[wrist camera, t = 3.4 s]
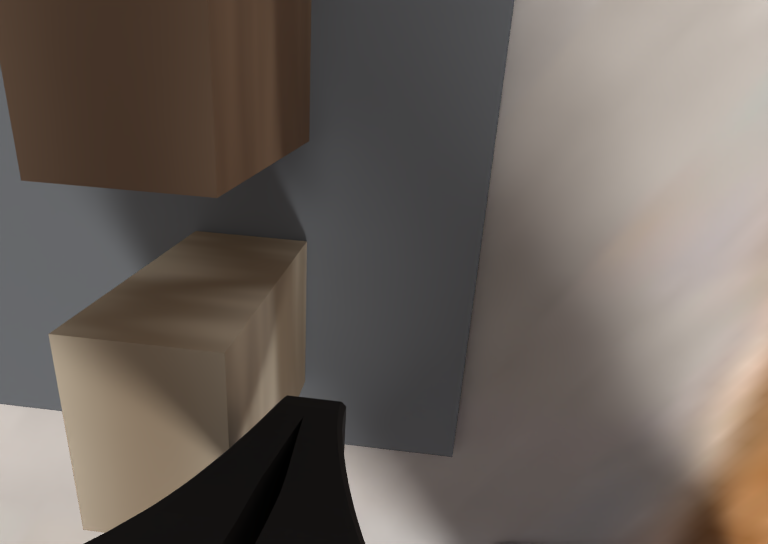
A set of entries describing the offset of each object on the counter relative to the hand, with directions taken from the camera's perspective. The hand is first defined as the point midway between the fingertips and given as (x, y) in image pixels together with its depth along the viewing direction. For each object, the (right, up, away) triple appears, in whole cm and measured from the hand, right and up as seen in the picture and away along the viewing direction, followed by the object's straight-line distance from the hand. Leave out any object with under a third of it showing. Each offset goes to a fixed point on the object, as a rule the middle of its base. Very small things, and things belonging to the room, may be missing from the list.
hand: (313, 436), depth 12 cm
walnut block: (-2, +10, +3) cm, 10 cm away
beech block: (-3, +2, +6) cm, 7 cm away
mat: (-4, +6, +5) cm, 9 cm away
